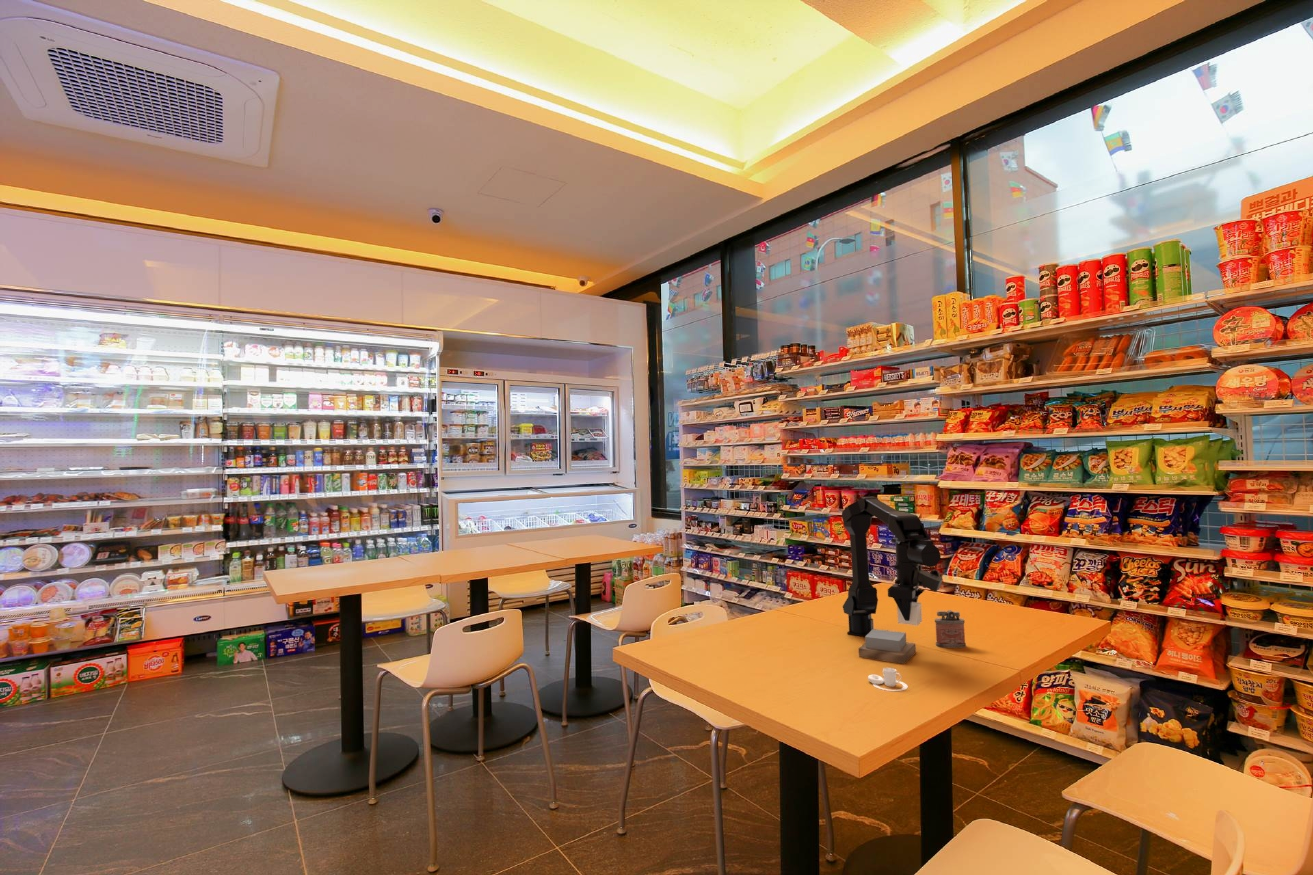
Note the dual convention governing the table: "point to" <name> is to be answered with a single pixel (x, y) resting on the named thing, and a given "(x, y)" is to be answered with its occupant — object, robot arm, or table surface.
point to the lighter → (950, 630)
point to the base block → (889, 653)
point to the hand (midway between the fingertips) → (909, 618)
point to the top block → (885, 640)
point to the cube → (911, 615)
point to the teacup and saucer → (887, 679)
